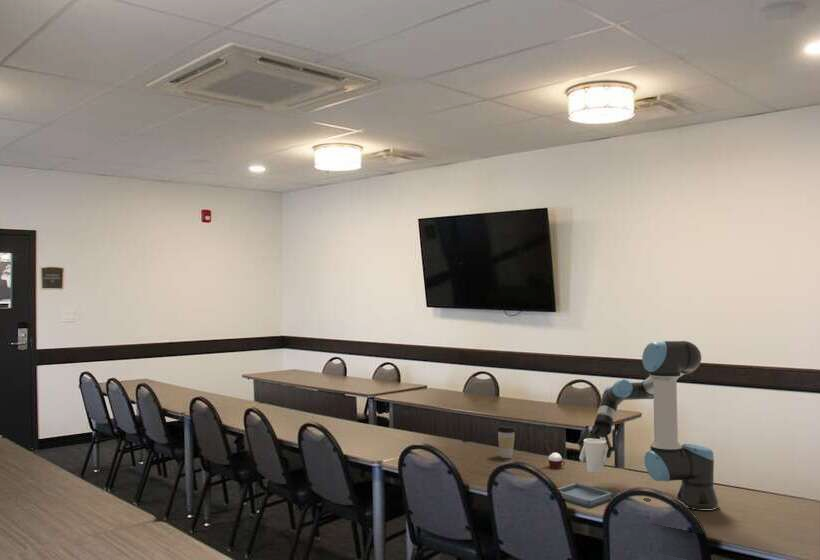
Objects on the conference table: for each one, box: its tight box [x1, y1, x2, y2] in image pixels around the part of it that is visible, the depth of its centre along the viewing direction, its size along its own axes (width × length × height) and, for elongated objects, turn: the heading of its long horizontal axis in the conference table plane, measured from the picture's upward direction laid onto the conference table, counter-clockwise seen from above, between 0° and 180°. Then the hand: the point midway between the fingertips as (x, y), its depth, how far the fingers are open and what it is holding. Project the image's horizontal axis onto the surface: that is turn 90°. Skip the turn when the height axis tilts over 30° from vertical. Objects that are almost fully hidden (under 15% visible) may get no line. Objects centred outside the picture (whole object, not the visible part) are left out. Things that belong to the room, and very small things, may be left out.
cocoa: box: [544, 439, 566, 469], centre depth 324 cm, size 10×6×12 cm, turn 40°
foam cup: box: [584, 437, 607, 474], centre depth 293 cm, size 10×9×13 cm
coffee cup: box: [496, 424, 517, 459], centre depth 342 cm, size 9×9×15 cm
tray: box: [557, 482, 614, 508], centre depth 278 cm, size 18×16×2 cm
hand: (592, 461), depth 291 cm, fingers closed on foam cup, 9 cm apart
